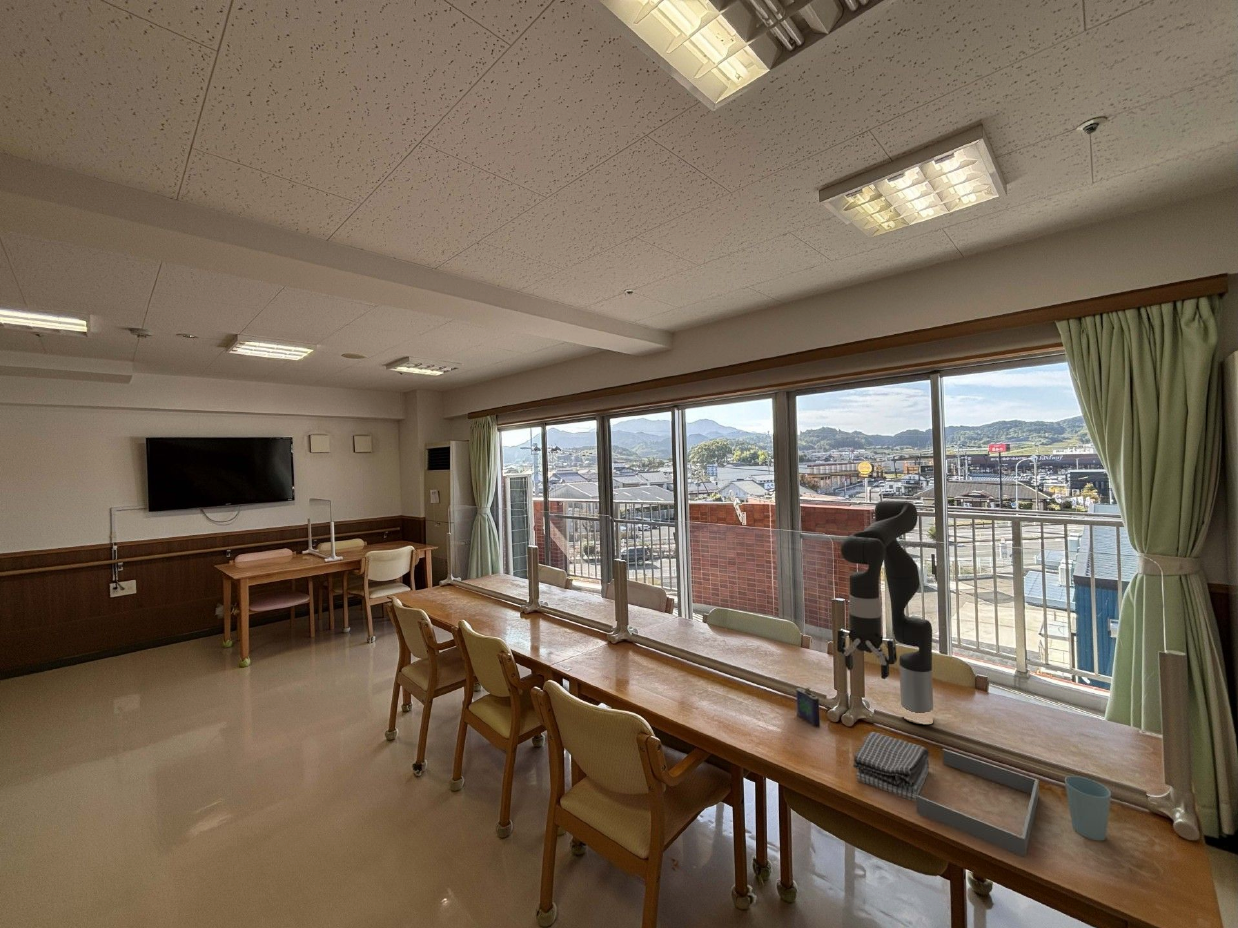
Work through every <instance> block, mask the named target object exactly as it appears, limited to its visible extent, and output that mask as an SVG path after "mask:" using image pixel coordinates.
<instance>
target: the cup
mask: <svg viewBox="0 0 1238 928" xmlns="http://www.w3.org/2000/svg"><path fill="white" fill-rule="evenodd" d="M1064 784H1065V789H1066V795H1067V796H1066V797H1067V801H1068V808H1069V813H1070V819H1071V825H1072V829H1074V831H1075V832H1076V833H1077V834H1079V835H1080V836H1082V837H1085V838H1086V839H1087V838H1088V839H1089V840H1092V841H1097V842H1098V841H1099V842H1100V841H1104V840H1106V837H1107V829H1108V821H1109V814H1110V806H1111V805H1110V804H1111V799H1112V792H1111V790H1110V789H1109V788H1108V787H1106V786H1105V785H1104V784H1102V783H1100V782H1098V781H1096V780H1094V779H1090V778H1087V777H1083V776H1079V775H1069V776H1066V777H1065V778H1064Z"/></svg>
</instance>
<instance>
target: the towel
mask: <svg viewBox="0 0 1238 928" xmlns="http://www.w3.org/2000/svg"><path fill="white" fill-rule="evenodd" d="M929 757H930V751H929V750H928V749H927V748H926V747H924V746H922V745H918V744H915V743H914V742H913V743H912V742H908V741H906V740H903V739H900V738H894V737H892V736H888V735H885V734H882V733H879V732H875V731H871V732H869V733H868V735H866V737H865V739H864V740H863V742H862V744H861V746H860V747H859V748H858V750H857V751H856V753H854V756H853V761H854V763H853V768H855V769H856V770H858V771H857V773H856V777H857V781H859V782H861V783H864V784H867V785H869V786H872V787H873V786H874V787H875V788H877V789H880V790H884V791H886V792H889V793H891V794H893V795H895V796H898V797H900V798H901V797H902V798H904V799H907V800H909V801H912V802H914V803H916V795H918V796H920V794H921V791H922V789H923V788H924V787H923V786H924V784H925V782H926V779H927V776H928V773H929V769H930V762H929Z"/></svg>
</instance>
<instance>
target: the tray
mask: <svg viewBox="0 0 1238 928" xmlns="http://www.w3.org/2000/svg"><path fill="white" fill-rule="evenodd" d="M942 764H943V765H945V766H948V767H951V768H955V769H957V770H959V771H963V772H966V773H969V774H972V775H974V776H978V777H980V778H984V779H986V780H989V781H992V782H995V783H998V784H999V785H1000V784H1001V785H1003V786H1005V787H1006V786H1007V787H1009V788H1012V789H1015V790H1018V791H1022V792H1024V793H1026V792H1027V794H1030V800H1029V804H1028V808H1027V813H1026V816H1025V821H1024V824H1023V828H1022V832H1021V835H1018V834H1016V833H1014V832H1012V831H1009V830H1006V829H1004V828H1001V827H999V826H997V825H993V824H991V823H988V822H986V821H984V820H981V819H978V818H975V817H973V816H971V815H969V814H965V813H963V812H960V811H958V810H956V809H953V808H951V807H948V806H946V805H943V804H941V803H938V802H935V801H934V800H930V799H928V798H926V797H923V796H920V795H916V802H915V807H916V813H917V814H919V815H921V816H924V817H926V818H928V819H931V820H933V821H935V822H938V823H940V824H943V825H946V826H947V827H950V828H952V829H954V830H957V831H960V832H962V833H963V834H967V835H969V836H971V837H974V838H976V839H978V840H981V841H983V842H986V843H988V844H990V845H993V846H995V847H998V848H1000V849H1003V850H1004V851H1007V852H1009V853H1012V854H1015V855H1017V856H1019V855H1021V856H1020V857H1021V858H1024V857H1025V858H1027V857H1026V856H1027V851H1028V847H1029V843H1030V838H1031V833H1032V830H1033V824H1034V820H1035V816H1036V811H1037V805H1038V801H1039V796H1040V792H1039V791H1040V787H1039V779H1037V778H1034V777H1031V776H1028V775H1025V774H1022V773H1019V772H1016V771H1013V770H1011V769H1010V770H1009V769H1007V768H1003V767H1001V766H997V765H995V764H991V763H988V762H985V761H983V760H979V759H976V758H973V757H970V756H968V755H964V754H962V753H961V754H960V753H958V752H955V751H952V750H948V749H946V748H942ZM916 813H915V814H916Z"/></svg>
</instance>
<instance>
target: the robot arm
mask: <svg viewBox="0 0 1238 928" xmlns="http://www.w3.org/2000/svg"><path fill="white" fill-rule="evenodd" d="M874 518H875V520H874V521H875V522H873V523H870V524H869V526H867V527H866V528H865V529H864V530H863V531H858V532H854V533H853V534H850V535H847V536H846V537H845V538H844V539H843V541H842V542H841V544H840V553H841V556H842V558H843V559H844V560H845V561H846V562H848V563H851V564H857V565H859V564H860V565H867V566H868V568H867V570H864V571H856V572H853V573H850V575H849V579H848V580H849V581H848V582H849V583H848V584H849V600H848V611H849V630H846V629H845V628H840V629H839V630H837V637H836V638H837V644H836V645H837V648H836V650H837V652H838V653H841V654H843V655H844V666H845V668H847V670H848V671H852V670H853V668H854V661H853V658H854V657H853V654H852V653H853V652H854V651H855V650H856V649H857V650H858V651H861V652H866V653H869V654H872V653H873V654H874V656H875V657H876V658H877V659H878V660H879V661H880V663H881V664H880V677H881V679H882V680H886V679H887V678H888V677H889V676H890V665H894V664H895V663H896V662H897V661H898V655H897V647H896V646H897V645H896V642H897V643H898V644H901V645H904V646H910V647H915V648H918V650H917V651H914V652H913V651H912V652H904V653H902V654H900V655H899V683H900V684H899V687H900V706H901V705H902V707H904V708H905V709H906V710H909V711H911V712H915V713H925V712H930V711H931V710H933V711H934V693H933V691H934V689H933V688H934V687H933V656H932V655H933V651H932V650H933V649H932V648H933V627H932V624H931V621H930V620H928V619H924V618H918V617H913V616H907V615H906V614H905V609H906V607H907V606H908V604H909V602H910V601H911V600H912V598H914V596H915V595H916V593H917V592H918V591H919V588H920V584H921V583H920V576H919V570H918V565H917V563H916V561H915V560H914V558H913V557H912V556H911V555H910V554H909V553H908V552H907V551H906V550H905V548H904V547H903V546H902V545H901V544H900V542H899V541H898V540H897V539H898V538H900V537H902V536H903V535H905V534H908V533H910V532H912V531H913V530H914V529H915V528H916V527H917V526H916V525H917V523H918V511H917V507H916V506H915V504H914V503H913V502H910V501H904V500H903V501H901V500H900V501H899V500H897V501H896V500H882V501H881V500H880V501H878V502H877V503H876V505H875V507H874ZM883 565H884V571H885V577H886V583H887V589H888V593H889V599H890V606H891V608H890V609H891V623H892V632H893V637H894V638H890V639H889V638H883V635H882V609H881V601H880V584H879V583H880V577H881V571H882V567H883ZM847 637H848V638H849V639H850V641H851V642H852V643H851V644H850V645H849V646H848V647H846V639H847ZM882 644H883V645H884V647H885V648H886V649H887V655H886V652H885V650H884V649H883V647H882Z"/></svg>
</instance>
